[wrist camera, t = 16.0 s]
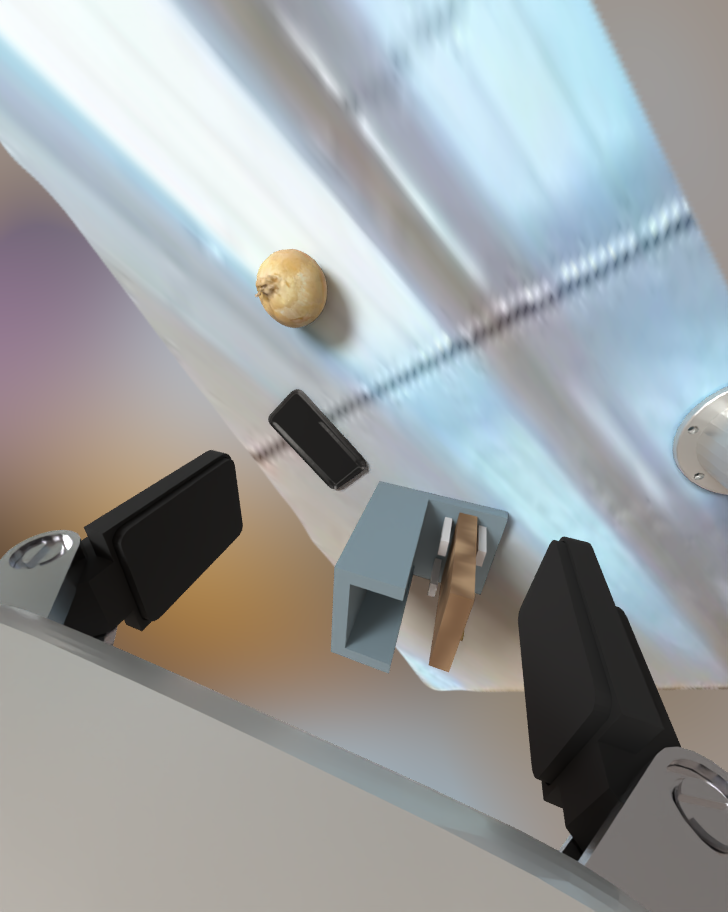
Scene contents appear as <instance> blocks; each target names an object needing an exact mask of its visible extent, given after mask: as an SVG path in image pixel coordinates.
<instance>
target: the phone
mask: <svg viewBox="0 0 728 912" xmlns="http://www.w3.org/2000/svg"><path fill="white" fill-rule="evenodd" d="M268 420H269V423H270V425H271V426H272V427H273V428H274V429H275V430H276V431H277V432H278V433H279V434H280V435H281V436H282V437H283V439H284V440H285V441H286V442H287V443H288V444H289V445H290V446H291V447H292V448H293V449H294V450H295V451H296V452H297V453H298V454H299V456H300V457H301V458H302V459H303V460H304V461H305V462H306V463H307V464H308V465H309V466H310V467H311V468H312V469H313V470H314V471H315V473H316V474H317V475H318V476H319V477H320V478H321V479H322V480H323V481H324V482H325V483H326V484H327V485H328V486H329V487H330V488H332V489H338V488H339V487H341V486H342V485H343V484H345V483H346V482H348V481H349V480H350V479H352V478H353V477H354V476H356V475H357V474H359V473H360V472H361V471H363V470H364V468H365V466H366V461H365V459H364V458H363V457H362V456H361V455H360V454H359V453H358V451H357V450H356V449H355V448H354V447H353V446H352V445H351V444H350V443H349V441H348V440H347V439H346V438H345V437H344V436H343V435H342V434H341V433H340V432H339V431H338V429H337V428H336V427H335V426H334V425H333V424H332V423H331V422H330V421H329V420H328V418H327V417H326V416H325V415H324V414H323V413H322V412H321V411H320V410H319V408H318V407H317V406H316V405H315V404H314V403H313V402H312V401H311V400H310V399H309V397H308V396H307V395H306V394H305V393H304V392H303V391H302V390H299V389H296V390H294V391H292V392H291V393H290V394H289V395H288V396H287V397H286V398H285V399H284V400H283V401H282V402H281V404H280V405H279V406H278V407H277V408H276V409H275V410H274V411H273V412H272V413H271V414H270V416H269V418H268Z"/></svg>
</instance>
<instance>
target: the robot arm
mask: <svg viewBox="0 0 728 912" xmlns="http://www.w3.org/2000/svg"><path fill="white" fill-rule="evenodd" d="M690 427H691V428H690ZM673 455H674V460H675V462H676V464H677V466H678V468H679V469H680V470H681V471H682V473H683V474H684V475H685V476H686V477H687V478H688V479H689V480H690V481H692V482H693V483H695V484H696V485H698V486H700V487H702V488H704V489H706V490H709V491H712V492H715V493H720V494H725V495H728V386H727V387H725V388H723V389H720V390H719V391H717V392H715V393H714V394H712V395H710V396H709V397H707V398H706V399H704V400H703V401H702V402H700V403H699V404H698V405H697V406H695V407H694V408H693V409H692V410H691V411H690V413H689V414H688V415H687V416H686V417H685V418H684V420H683V421H682V423H681V424H680V426H679V427H678V429H677V432H676V434H675V437H674V442H673ZM242 527H243V523H242V516H241V509H240V501H239V493H238V487H237V479H236V471H235V465H234V462H233V460H231V457H230V456H229V455H228V454H225V453H221V452H217V451H213V450H209V451H207V452H205V453H204V454H202V455H200V456H199V457H197V458H196V459H194V460H192V461H191V462H189V463H187V464H186V465H184V466H182V467H181V468H180V469H178V470H176V471H174V472H173V473H171V474H169V475H168V476H166V477H165V478H163V479H161V480H160V481H158V482H157V483H155V484H153V485H152V486H150V487H148V488H147V489H145V490H144V491H142V492H140V493H139V494H137V495H135V496H134V497H132V498H131V499H129V500H127V501H126V502H124V503H122V504H121V505H119V506H118V507H116V508H114V509H113V510H111V511H110V512H108V513H106V514H105V515H103V516H101V517H100V518H98V519H97V520H95V521H93V522H92V523H90V524H89V525H87V526H85V527H84V529H85V531H86V533H87V536H88V537H86V538H85V539H83V540H82V541H81V539H80V537H79V535H78V534H77V533H75V532H73V531H68V530H57V531H50V532H46V533H42V534H39V535H36V536H33V537H31V538H28V539H27V540H25V541H23V542H21V543H19V544H17V545H16V546H14V547H13V548H12V549H10V550H9V551H8V552H7V553H6V554H5V555H4V556H3V557H2V558H1V560H0V912H728V773H727V772H726V771H724V770H723V769H722V768H720V767H719V766H718V765H716V764H715V763H714V762H712V761H711V760H709V759H707V758H705V757H704V756H702V755H700V754H698V753H696V752H694V751H691V750H688V749H684V748H681V746H680V743H679V741H678V738H677V736H676V734H675V731H674V729H673V726H672V724H671V722H670V720H669V717H668V714H667V712H666V710H665V707H664V705H663V702H662V700H661V698H660V695H659V693H658V690H657V688H656V686H655V683H654V681H653V678H652V676H651V674H650V671H649V669H648V666H647V664H646V662H645V659H644V657H643V654H642V652H641V650H640V647H639V645H638V643H637V640H636V638H635V635H634V633H633V631H632V628H631V626H630V623H629V621H628V619H627V617H626V615H625V613H624V611H623V610H622V609H620V608H619V607H616V606H615V603H614V601H613V598H612V596H611V593H610V591H609V588H608V586H607V583H606V581H605V578H604V576H603V573H602V570H601V568H600V565H599V563H598V560H597V558H596V555H595V553H594V550H593V548H592V546H591V544H590V543H588V542H584V541H580V540H576V539H572V538H568V537H562V538H561V539H560V540H559V541H556V540H553V541H552V542H551V543H550V545H549V547H548V549H547V552H546V554H545V556H544V558H543V560H542V562H541V565H540V567H539V569H538V571H537V573H536V575H535V578H534V580H533V582H532V584H531V586H530V588H529V590H528V593H527V595H526V597H525V599H524V601H523V603H522V606H521V608H520V611H519V616H518V625H519V636H520V647H521V657H522V668H523V679H524V689H525V699H526V710H527V720H528V732H529V742H530V753H531V763H532V771H533V774H534V776H535V778H536V779H539V780H541V781H542V790H543V799H544V801H546V802H549V803H551V804H554V805H556V806H558V807H561V808H563V812H564V819H565V826H566V828H567V830H568V831H569V833H570V835H569V837H568V838H567V839H566V841H565V842H564V843H563V845H562V846H561V848H560V849H559V850H556V849H554V848H552V847H550V846H548V845H546V844H545V843H543V842H541V841H539V840H537V839H535V838H533V837H531V836H529V835H528V834H526V833H524V832H522V831H520V830H518V829H515V828H514V827H512V826H510V825H508V824H505V823H503V822H501V821H499V820H497V819H495V818H493V817H490V816H489V815H486V814H484V813H482V812H480V811H478V810H476V809H474V808H472V807H470V806H467V805H465V804H463V803H461V802H458V801H457V800H455V799H453V798H451V797H448V796H446V795H444V794H442V793H440V792H438V791H436V790H434V789H431V788H429V787H427V786H425V785H423V784H421V783H418V782H416V781H414V780H412V779H410V778H407V777H405V776H403V775H400V774H399V773H396V772H394V771H392V770H390V769H387V768H385V767H383V766H381V765H379V764H376V763H374V762H372V761H370V760H368V759H365V758H363V757H361V756H359V755H357V754H354V753H352V752H350V751H348V750H345V749H343V748H341V747H339V746H337V745H334V744H332V743H330V742H328V741H326V740H323V739H321V738H319V737H317V736H314V735H312V734H310V733H308V732H305V731H303V730H301V729H299V728H297V727H294V726H292V725H290V724H288V723H285V722H283V721H281V720H279V719H277V718H274V717H272V716H270V715H268V714H265V713H263V712H261V711H259V710H256V709H254V708H252V707H250V706H247V705H245V704H243V703H241V702H238V701H236V700H234V699H232V698H229V697H227V696H225V695H223V694H220V693H218V692H216V691H214V690H211V689H209V688H207V687H205V686H202V685H200V684H198V683H196V682H193V681H191V680H189V679H187V678H184V677H182V676H180V675H178V674H175V673H173V672H171V671H169V670H166V669H164V668H162V667H160V666H157V665H155V664H153V663H150V662H148V661H146V660H143V659H141V658H139V657H137V656H134V655H132V654H130V653H128V652H125V651H123V650H121V649H118V648H116V647H114V646H113V643H114V639H115V635H116V630H117V626H118V625H119V624H120V623H121V622H122V621H123V620H125V623H126V625H128V626H131V627H133V628H136V629H138V630H140V631H143V630H144V629H145V628H146V626H148V625H149V624H150V623H151V621H155V620H157V619H159V618H160V617H161V616H162V615H163V614H164V613H165V612H166V611H167V610H168V609H169V608H170V606H171V605H173V604H174V602H175V601H176V600H177V599H178V598H179V597H180V596H181V595H182V594H183V593H184V592H185V591H186V590H187V589H188V588H189V587H190V586H191V585H192V584H193V583H194V582H195V581H196V580H197V578H199V577H200V575H201V574H202V573H203V572H204V571H205V570H206V569H207V568H208V567H209V566H210V565H211V564H212V563H213V562H214V561H215V560H216V559H217V558H218V557H219V556H220V555H221V554H222V553H223V552H224V551H225V550H226V549H227V548H228V546H229V545H230V544H231V543H232V542H233V541H234V540H235V539H236V538H237V537H238V536H239V535H240V533H241V531H242Z"/></svg>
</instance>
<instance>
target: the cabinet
mask: <svg viewBox="0 0 728 912" xmlns="http://www.w3.org/2000/svg"><path fill="white" fill-rule="evenodd" d="M459 512H460V513H464V514H468V515H473V516H477V544H476V572H475V593H476V594H480V595H481V592H482V589H483V586H484V584H485V581H486V578H487V575H488V572H489V570H490V567H491V564H492V561H493V559H494V556H495V553H496V550H497V548H498V545H499V542H500V539H501V537H502V534H503V531H504V528H505V526H506V523H507V520H508V512H506V511H502V510H498V509H494V508H490V507H485V506H481V505H477V504H473V503H468V502H464V501H460V500H456V499H452V498H447V497H443V496H439V495H435V494H431V493H426V492H422V491H418V490H414V489H410V488H405V487H401V486H397V485H393V484H389V483H384V482H379V484H378V486H377V487H376V489H375V491H374V493H373V495H372V497H371V499H370V501H369V503H368V505H367V506H366V508H365V510H364V512H363V514H362V516H361V518H360V520H359V522H358V524H357V525H356V527H355V529H354V531H353V533H352V535H351V537H350V539H349V541H348V542H347V544H346V546H345V548H344V550H343V552H342V554H341V556H340V558H339V560H338V561H337V563H336V565H335V570H334V593H333V617H332V618H333V619H332V640H331V652H333V653H336V654H339V655H341V656H344V657H347V658H349V659H352V660H355V661H357V662H360V663H362V664H365V665H368V666H371V667H373V668H376V669H378V670H381V671H384V672H387V673H389V670H390V666H391V662H392V658H393V654H394V650H395V646H396V642H397V638H398V634H399V630H400V625H401V621H402V617H403V613H404V609H405V605H406V601H407V597H408V593H409V589H410V585H411V581H412V577H413V575H416V576H419V577H423V578H426V579H429V580H430V584H429V590H428V595H429V596H432V597H435V593H436V590H437V586H438V582H439V583H441V579H442V575H443V571H444V568H445V564H446V560H447V556H448V553H449V549H450V545H451V542H452V538H453V534H454V531H455V527H456V523H457V520H458V516H459Z"/></svg>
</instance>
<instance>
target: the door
mask: <svg viewBox="0 0 728 912" xmlns="http://www.w3.org/2000/svg"><path fill="white" fill-rule="evenodd" d="M476 544H477V516H473V515H468V514H464V513H460V512H459V516H458V520H457V523H456V527H455V531H454V534H453V538H452V542H451V545H450V549H449V553H448V556H447V560H446V564H445V568H444V571H443V575H442V579H441V586H440V593H439V599H438V606H437V613H436V620H435V626H434V633H433V640H432V646H431V653H430V660H429V665H430V666H433V667H435V668H438V669H441V670H444V671H447V672H449V670H450V667H451V665H452V662H453V659H454V656H455V653H456V651H457V648H458V645H459V642H460V640H461V641H462V640H463V636H464V628H465V625H466V623H467V620H468V617H469V614H470V611H471V609H472V606H473V603H474V600H475V572H476Z"/></svg>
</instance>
